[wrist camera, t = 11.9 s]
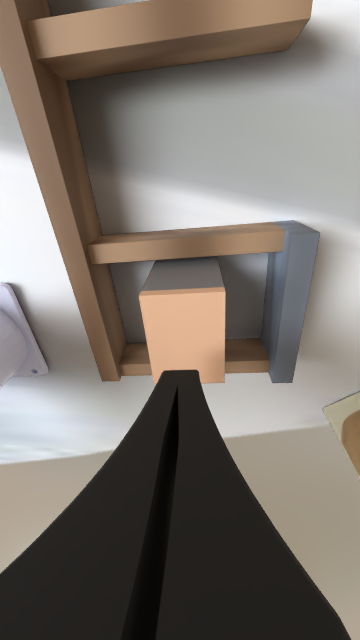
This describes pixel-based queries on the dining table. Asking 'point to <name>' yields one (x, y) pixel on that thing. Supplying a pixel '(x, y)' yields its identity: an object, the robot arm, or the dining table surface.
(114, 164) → the dining table surface
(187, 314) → the tan box
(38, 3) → the divider rack
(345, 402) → the skincare box
